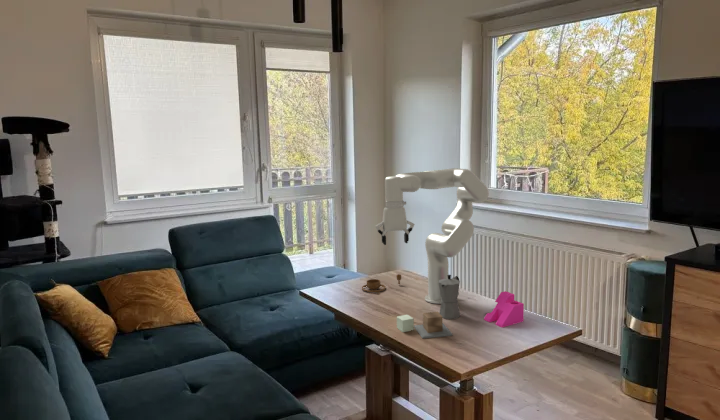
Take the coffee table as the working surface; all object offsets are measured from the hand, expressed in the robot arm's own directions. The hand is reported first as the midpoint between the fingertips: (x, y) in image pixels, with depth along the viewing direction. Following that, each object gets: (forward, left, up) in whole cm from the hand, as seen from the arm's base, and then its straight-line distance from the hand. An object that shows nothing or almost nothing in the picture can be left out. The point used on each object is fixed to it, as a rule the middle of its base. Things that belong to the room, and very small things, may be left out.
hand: (395, 243), depth 228 cm
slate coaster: (-8, +28, -30) cm, 42 cm away
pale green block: (+2, +23, -30) cm, 38 cm away
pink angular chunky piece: (-39, +24, -31) cm, 56 cm away
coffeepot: (-21, +12, -31) cm, 39 cm away
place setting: (0, -31, -31) cm, 44 cm away
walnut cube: (-8, +28, -30) cm, 41 cm away
